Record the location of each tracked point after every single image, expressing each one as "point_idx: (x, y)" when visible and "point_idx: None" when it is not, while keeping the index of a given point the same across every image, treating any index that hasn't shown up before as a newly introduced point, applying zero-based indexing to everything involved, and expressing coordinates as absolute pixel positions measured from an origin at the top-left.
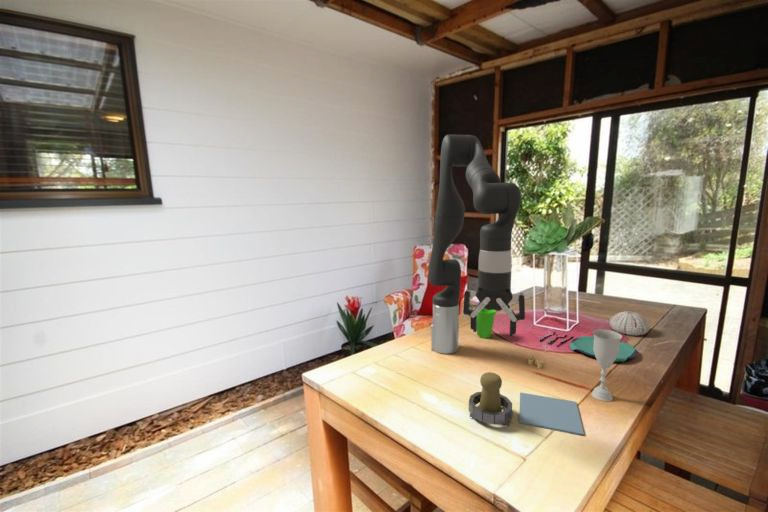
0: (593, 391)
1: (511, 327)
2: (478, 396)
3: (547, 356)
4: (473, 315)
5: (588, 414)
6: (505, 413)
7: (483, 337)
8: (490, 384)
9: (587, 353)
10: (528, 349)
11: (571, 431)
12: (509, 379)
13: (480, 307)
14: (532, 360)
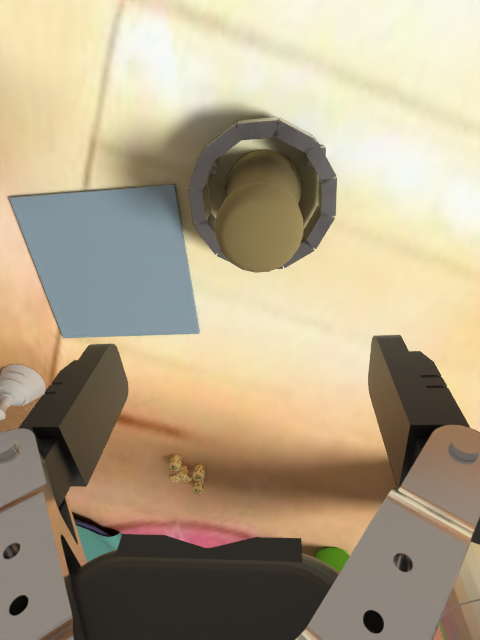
0: (35, 387)
1: (70, 387)
2: (307, 234)
3: (168, 503)
4: (457, 444)
5: (28, 297)
6: (202, 152)
7: (332, 549)
8: (254, 187)
9: (84, 526)
10: (215, 521)
11: (38, 196)
12: (238, 387)
13: (400, 563)
14: (193, 475)
